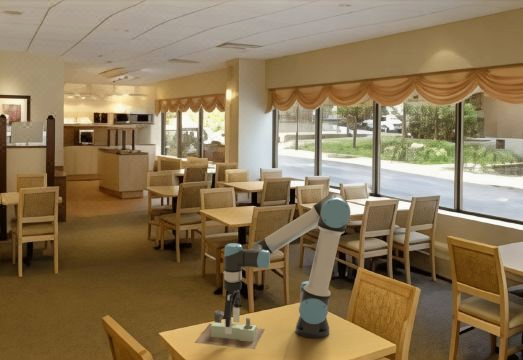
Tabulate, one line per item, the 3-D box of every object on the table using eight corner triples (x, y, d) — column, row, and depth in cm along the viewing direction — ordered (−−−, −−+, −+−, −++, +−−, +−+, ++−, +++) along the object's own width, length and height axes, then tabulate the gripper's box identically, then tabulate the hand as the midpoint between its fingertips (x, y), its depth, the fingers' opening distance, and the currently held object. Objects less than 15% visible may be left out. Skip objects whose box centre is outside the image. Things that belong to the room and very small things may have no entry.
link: (256, 336, 234) (256, 325, 233) (253, 341, 228) (253, 330, 227) (214, 332, 237) (214, 321, 237) (210, 337, 232) (210, 326, 231)
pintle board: (264, 331, 242) (265, 309, 241) (254, 351, 221) (254, 327, 220) (209, 325, 247) (209, 304, 246) (194, 344, 226) (194, 322, 225)
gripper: (231, 271, 243) (231, 316, 245) (216, 288, 218) (215, 338, 221) (248, 272, 241) (247, 317, 244) (233, 289, 217) (233, 339, 219)
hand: (232, 327), depth 232 cm, fingers open, 13 cm apart
